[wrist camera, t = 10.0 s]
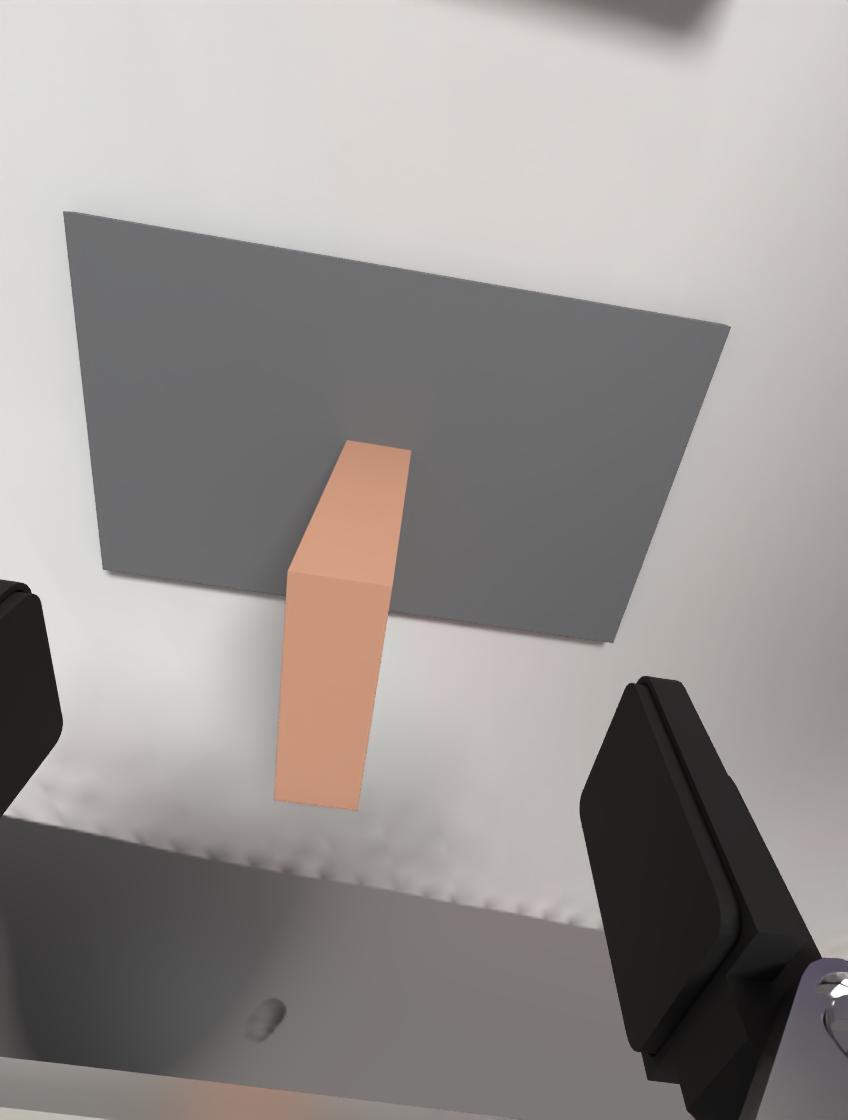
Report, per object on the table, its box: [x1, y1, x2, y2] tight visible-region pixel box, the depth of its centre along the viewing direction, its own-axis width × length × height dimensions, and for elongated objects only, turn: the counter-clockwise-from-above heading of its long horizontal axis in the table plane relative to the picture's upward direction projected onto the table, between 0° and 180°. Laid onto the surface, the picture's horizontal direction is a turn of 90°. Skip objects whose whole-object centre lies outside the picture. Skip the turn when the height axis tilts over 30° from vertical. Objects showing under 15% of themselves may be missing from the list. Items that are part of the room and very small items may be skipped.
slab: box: [274, 440, 411, 811], centre depth 18 cm, size 2×9×7 cm
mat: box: [63, 212, 731, 643], centre depth 21 cm, size 20×12×1 cm, turn 81°
